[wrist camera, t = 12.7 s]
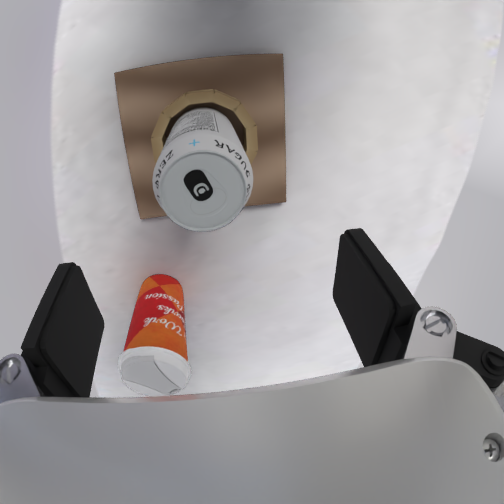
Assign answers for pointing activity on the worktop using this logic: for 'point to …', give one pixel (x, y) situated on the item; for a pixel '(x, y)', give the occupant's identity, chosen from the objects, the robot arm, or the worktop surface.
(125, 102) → the ring stand
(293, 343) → the worktop surface
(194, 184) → the energy drink can
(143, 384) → the paper cup
